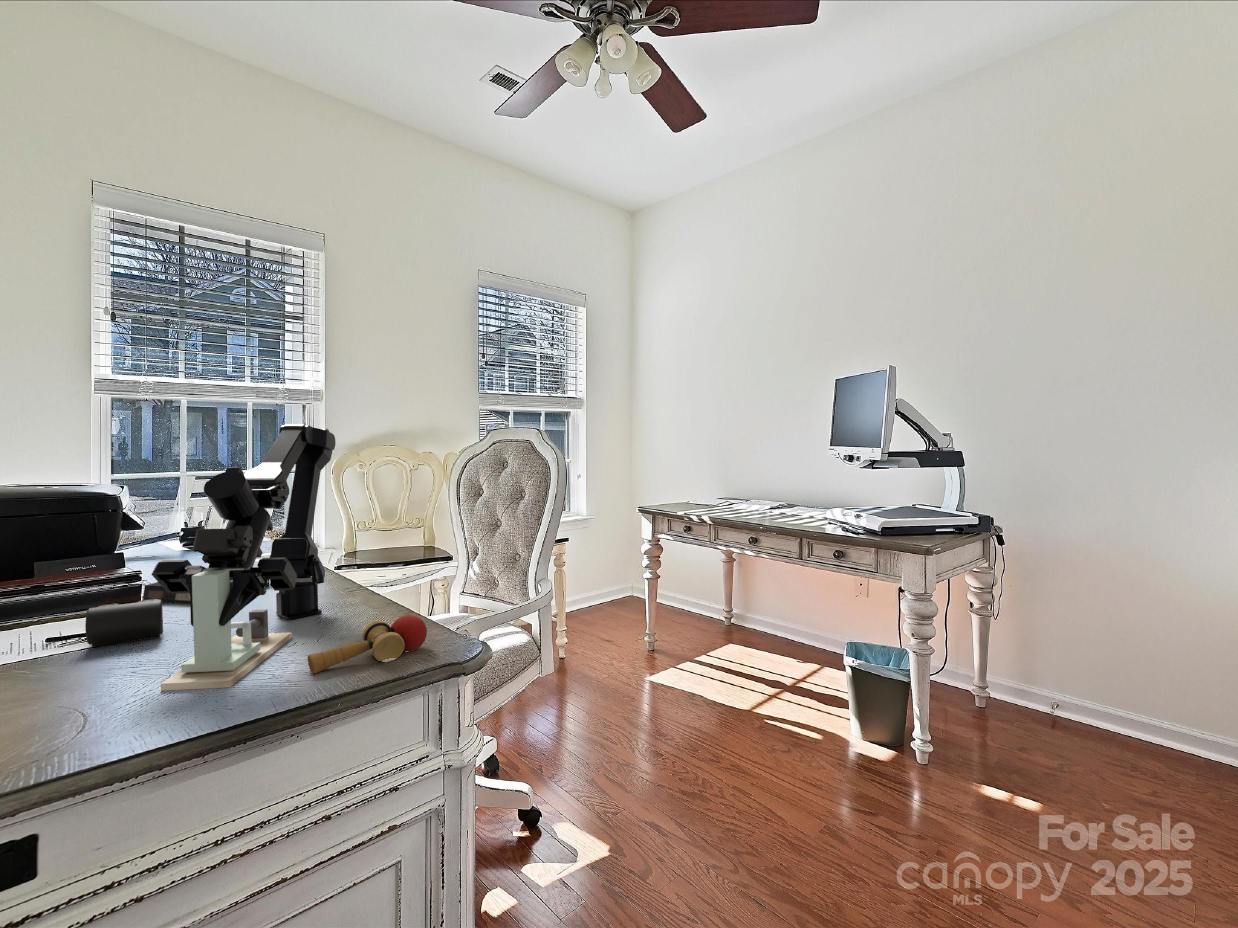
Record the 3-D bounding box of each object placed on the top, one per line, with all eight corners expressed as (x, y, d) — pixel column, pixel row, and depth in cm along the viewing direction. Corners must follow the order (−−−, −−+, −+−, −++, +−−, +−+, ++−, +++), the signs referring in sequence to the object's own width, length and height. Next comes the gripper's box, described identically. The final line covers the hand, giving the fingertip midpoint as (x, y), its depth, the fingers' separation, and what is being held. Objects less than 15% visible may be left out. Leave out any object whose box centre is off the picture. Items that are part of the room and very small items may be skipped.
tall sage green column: (213, 651, 95) (210, 563, 94) (260, 649, 96) (257, 562, 95) (181, 672, 87) (178, 576, 86) (233, 670, 87) (230, 574, 87)
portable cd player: (142, 604, 128) (142, 586, 128) (209, 584, 145) (209, 568, 145) (209, 608, 125) (208, 589, 125) (269, 587, 142) (269, 571, 142)
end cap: (86, 653, 98) (84, 612, 98) (93, 641, 104) (91, 602, 104) (162, 641, 104) (160, 603, 104) (164, 630, 110) (163, 594, 109)
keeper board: (237, 639, 104) (236, 608, 104) (291, 637, 105) (290, 606, 105) (160, 690, 83) (159, 651, 83) (229, 687, 85) (228, 648, 84)
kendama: (321, 691, 87) (438, 646, 98) (312, 649, 87) (429, 609, 98) (309, 684, 93) (420, 642, 104) (300, 644, 93) (412, 607, 104)
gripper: (157, 508, 90) (107, 599, 80) (287, 506, 93) (255, 594, 82) (189, 549, 99) (147, 637, 88) (308, 547, 101) (281, 632, 90)
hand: (207, 625), depth 87 cm, fingers closed on tall sage green column, 3 cm apart
